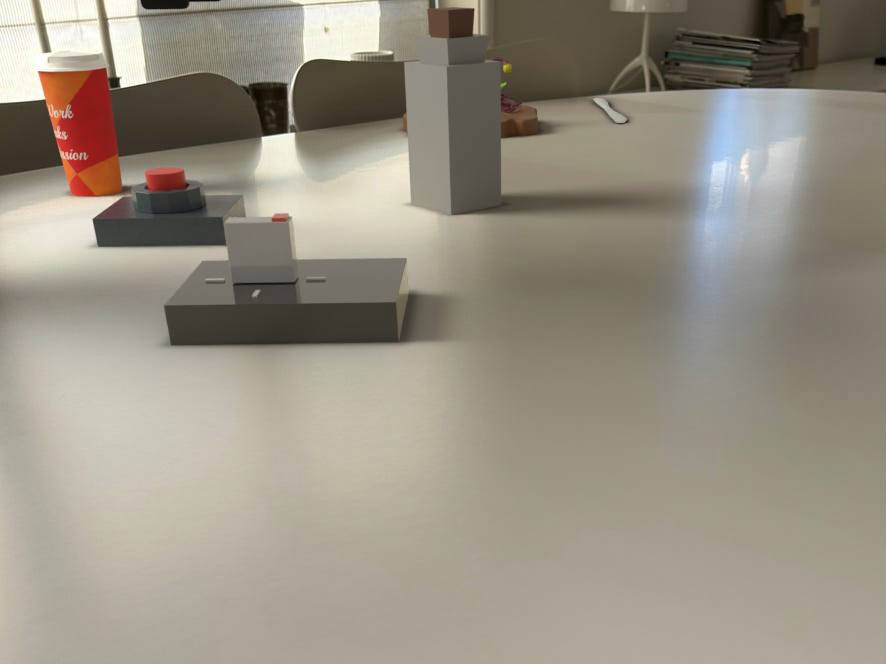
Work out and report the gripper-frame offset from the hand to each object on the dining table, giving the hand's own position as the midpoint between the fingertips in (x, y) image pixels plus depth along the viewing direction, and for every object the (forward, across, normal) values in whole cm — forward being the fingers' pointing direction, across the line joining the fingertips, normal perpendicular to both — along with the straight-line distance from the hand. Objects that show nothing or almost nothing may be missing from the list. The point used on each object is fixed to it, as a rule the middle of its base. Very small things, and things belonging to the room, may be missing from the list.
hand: (185, 4), depth 76 cm
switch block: (+20, -18, -9) cm, 28 cm away
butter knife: (+20, -98, +39) cm, 108 cm away
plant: (+20, -83, +17) cm, 87 cm away
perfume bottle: (+20, -30, +18) cm, 40 cm away
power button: (+16, -18, -9) cm, 26 cm away
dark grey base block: (+20, +10, +8) cm, 23 cm away
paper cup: (+20, -39, -24) cm, 50 cm away
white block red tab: (+17, +10, +6) cm, 20 cm away
